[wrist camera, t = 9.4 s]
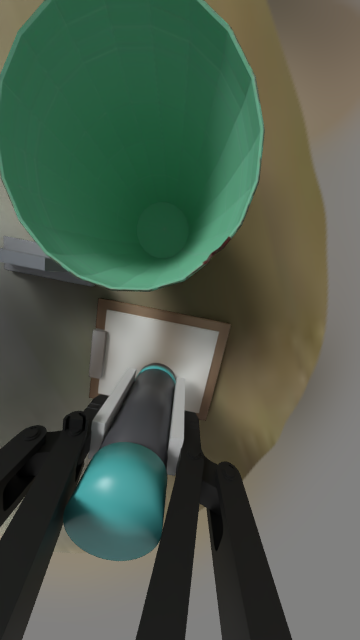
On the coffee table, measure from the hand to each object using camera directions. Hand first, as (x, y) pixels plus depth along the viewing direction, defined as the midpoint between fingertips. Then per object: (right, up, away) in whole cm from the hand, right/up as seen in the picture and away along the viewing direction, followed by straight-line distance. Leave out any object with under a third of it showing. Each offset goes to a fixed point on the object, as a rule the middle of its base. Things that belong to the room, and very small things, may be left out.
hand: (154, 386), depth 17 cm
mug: (+1, +17, -1) cm, 17 cm away
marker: (0, 0, +2) cm, 2 cm away
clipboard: (0, +2, +2) cm, 3 cm away
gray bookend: (-10, +12, 0) cm, 15 cm away
